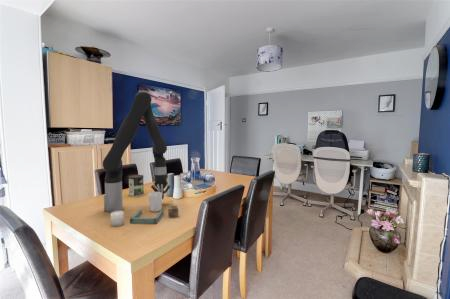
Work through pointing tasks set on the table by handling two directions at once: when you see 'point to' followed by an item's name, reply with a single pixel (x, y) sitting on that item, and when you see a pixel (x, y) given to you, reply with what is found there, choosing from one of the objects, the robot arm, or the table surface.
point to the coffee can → (136, 185)
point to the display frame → (136, 218)
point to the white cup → (155, 201)
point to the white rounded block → (117, 218)
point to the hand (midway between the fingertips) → (161, 199)
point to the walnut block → (172, 211)
